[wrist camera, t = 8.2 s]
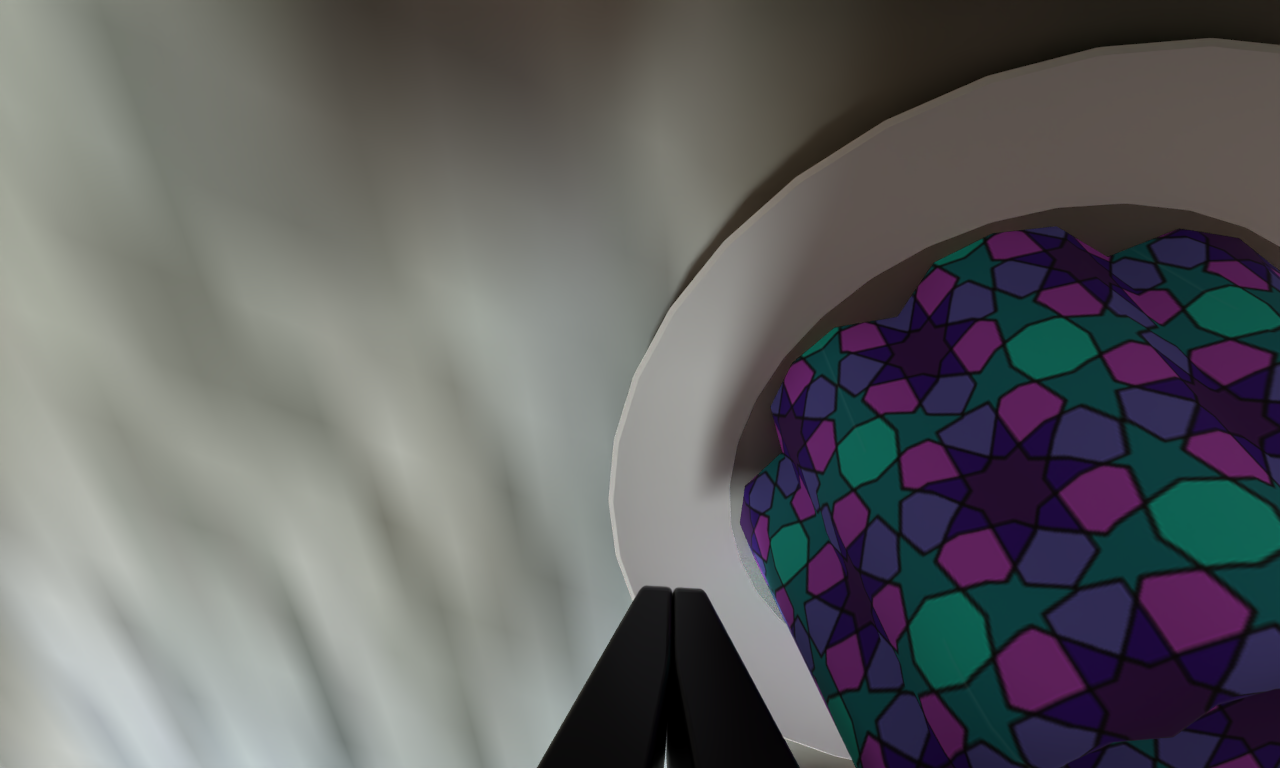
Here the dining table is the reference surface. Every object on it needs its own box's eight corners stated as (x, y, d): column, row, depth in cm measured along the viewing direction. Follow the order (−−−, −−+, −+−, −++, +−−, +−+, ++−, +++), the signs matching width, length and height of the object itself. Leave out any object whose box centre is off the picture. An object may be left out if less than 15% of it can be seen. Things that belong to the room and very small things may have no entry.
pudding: (872, 807, 15) (955, 1175, 10) (446, 423, 11) (270, 757, 6) (1588, 542, 11) (2263, 968, 6) (1352, -273, 6) (2996, -875, 2)
